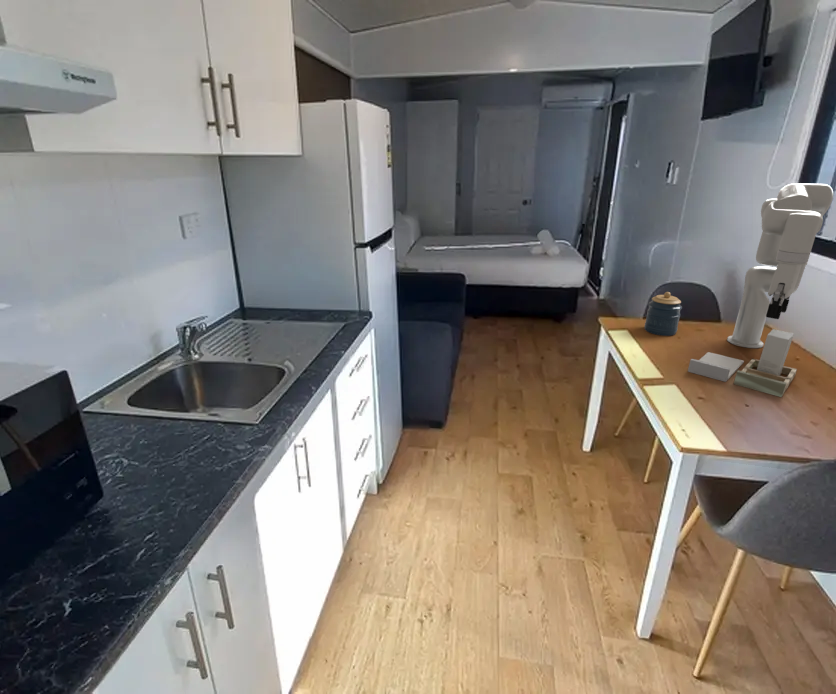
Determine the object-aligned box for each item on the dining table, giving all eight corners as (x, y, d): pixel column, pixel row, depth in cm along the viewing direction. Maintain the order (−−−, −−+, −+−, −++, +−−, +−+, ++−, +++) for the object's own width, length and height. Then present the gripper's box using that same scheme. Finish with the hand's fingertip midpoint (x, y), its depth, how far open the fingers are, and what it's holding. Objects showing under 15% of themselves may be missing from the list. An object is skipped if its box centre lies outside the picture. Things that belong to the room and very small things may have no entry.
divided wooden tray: (750, 364, 180) (753, 353, 178) (795, 375, 171) (798, 363, 169) (733, 384, 164) (736, 371, 162) (781, 397, 155) (785, 384, 153)
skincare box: (760, 369, 176) (772, 328, 170) (782, 374, 172) (795, 333, 166) (754, 376, 171) (766, 333, 165) (776, 381, 166) (789, 338, 160)
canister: (661, 338, 206) (669, 297, 199) (637, 328, 217) (644, 289, 210) (683, 334, 211) (692, 294, 204) (658, 325, 222) (666, 287, 215)
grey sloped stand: (707, 353, 189) (710, 343, 187) (743, 362, 181) (746, 351, 179) (687, 371, 173) (690, 359, 171) (725, 381, 165) (729, 369, 164)
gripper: (782, 252, 149) (767, 306, 155) (770, 259, 137) (754, 317, 143) (813, 255, 144) (796, 311, 150) (803, 263, 132) (785, 323, 138)
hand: (775, 314), depth 147 cm, fingers open, 9 cm apart
